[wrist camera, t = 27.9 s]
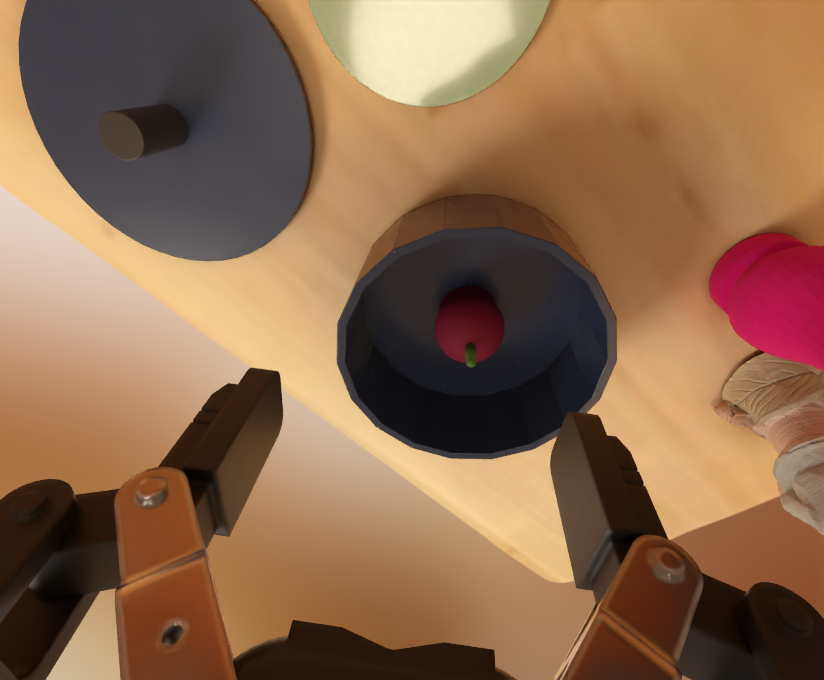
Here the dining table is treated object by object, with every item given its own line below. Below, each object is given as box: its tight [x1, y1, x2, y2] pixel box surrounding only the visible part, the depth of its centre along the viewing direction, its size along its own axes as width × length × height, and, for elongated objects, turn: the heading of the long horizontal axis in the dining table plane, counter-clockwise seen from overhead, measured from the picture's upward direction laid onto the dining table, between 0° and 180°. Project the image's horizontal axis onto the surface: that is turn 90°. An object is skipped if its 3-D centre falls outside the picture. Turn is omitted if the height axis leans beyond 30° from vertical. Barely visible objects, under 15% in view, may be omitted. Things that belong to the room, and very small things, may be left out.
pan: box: [337, 194, 617, 459], centre depth 33 cm, size 18×18×8 cm
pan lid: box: [19, 0, 312, 261], centre depth 28 cm, size 19×19×6 cm
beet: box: [434, 286, 505, 367], centre depth 32 cm, size 5×5×7 cm
